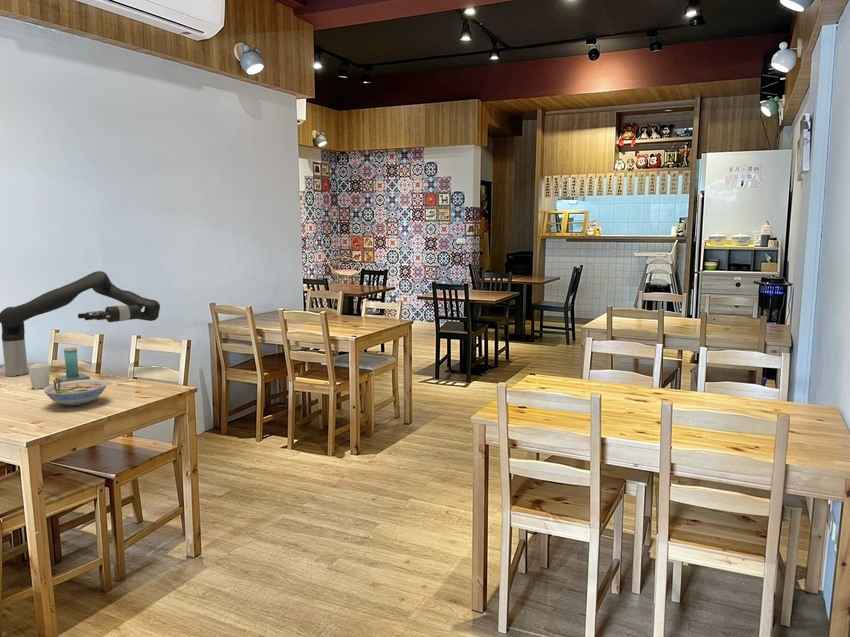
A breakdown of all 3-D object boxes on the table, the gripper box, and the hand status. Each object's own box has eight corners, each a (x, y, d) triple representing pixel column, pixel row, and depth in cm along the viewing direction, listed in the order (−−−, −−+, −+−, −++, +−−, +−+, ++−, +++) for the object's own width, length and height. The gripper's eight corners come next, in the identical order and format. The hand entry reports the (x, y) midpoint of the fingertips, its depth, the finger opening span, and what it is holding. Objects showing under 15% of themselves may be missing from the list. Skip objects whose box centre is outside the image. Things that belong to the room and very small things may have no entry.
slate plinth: (55, 384, 285) (55, 376, 284) (81, 380, 292) (81, 372, 292) (63, 388, 277) (63, 380, 277) (90, 383, 285) (89, 376, 285)
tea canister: (64, 376, 284) (62, 348, 283) (76, 374, 288) (74, 347, 286) (68, 378, 281) (65, 350, 279) (80, 376, 285) (78, 348, 283)
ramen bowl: (110, 407, 247) (109, 387, 246) (43, 415, 236) (41, 394, 235) (107, 393, 269) (105, 374, 268) (45, 400, 258) (43, 381, 256)
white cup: (55, 385, 283) (53, 364, 281) (42, 389, 275) (40, 367, 273) (38, 385, 283) (36, 363, 282) (26, 389, 276) (24, 367, 274)
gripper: (111, 304, 304) (75, 307, 293) (123, 307, 295) (86, 310, 283) (112, 319, 305) (76, 323, 294) (124, 322, 296) (87, 326, 284)
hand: (81, 317), depth 288 cm, fingers open, 8 cm apart
